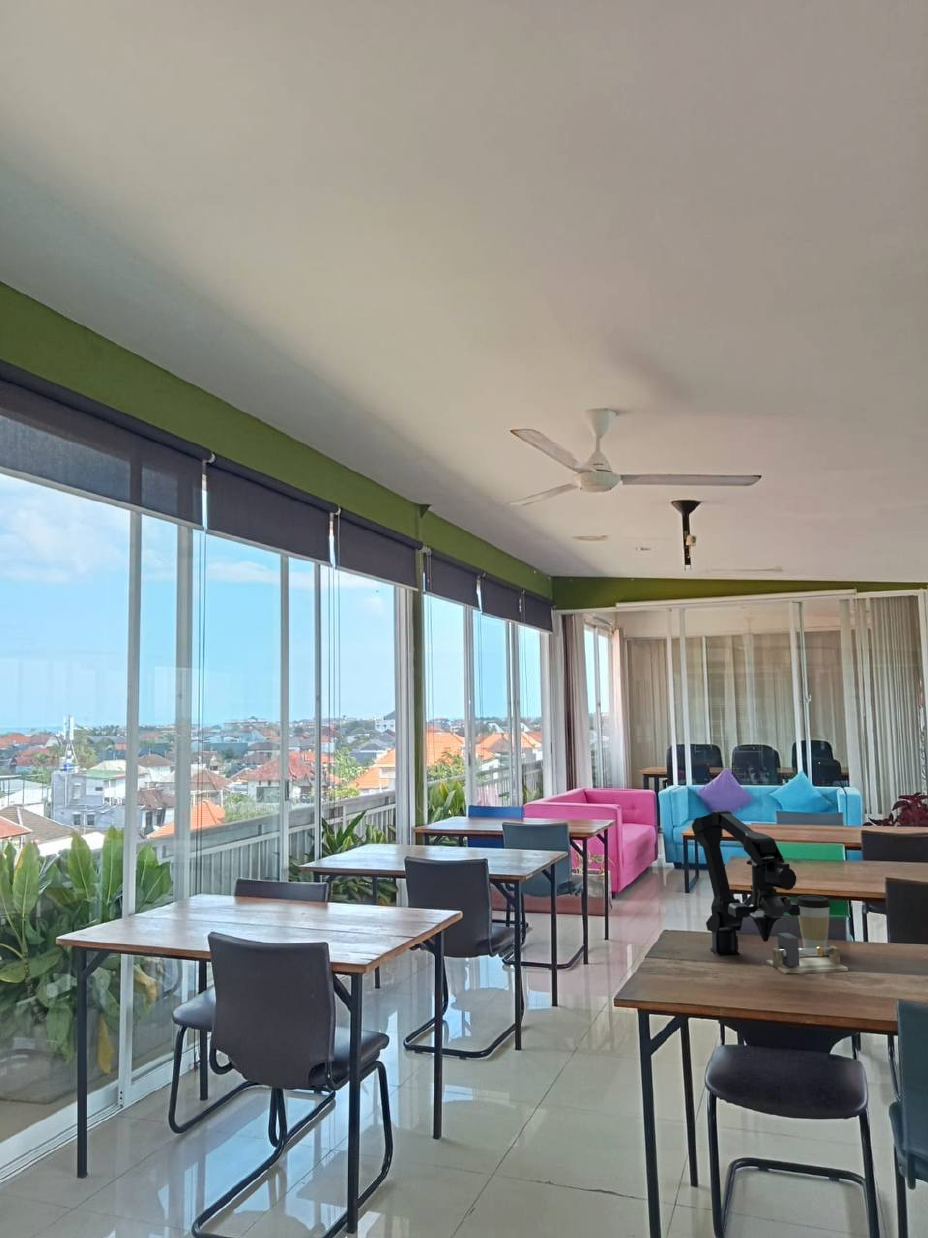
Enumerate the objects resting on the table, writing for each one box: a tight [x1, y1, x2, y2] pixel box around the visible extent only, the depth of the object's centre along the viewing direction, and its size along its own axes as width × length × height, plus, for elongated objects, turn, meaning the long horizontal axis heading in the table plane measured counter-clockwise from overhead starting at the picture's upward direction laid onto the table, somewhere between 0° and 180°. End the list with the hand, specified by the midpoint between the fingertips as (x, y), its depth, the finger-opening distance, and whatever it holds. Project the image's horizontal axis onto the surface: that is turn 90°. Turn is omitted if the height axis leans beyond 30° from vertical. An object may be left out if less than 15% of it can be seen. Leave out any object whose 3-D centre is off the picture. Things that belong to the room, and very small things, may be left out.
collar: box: [777, 932, 800, 967], centre depth 252 cm, size 3×6×7 cm, turn 7°
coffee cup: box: [795, 894, 832, 948], centre depth 270 cm, size 10×10×15 cm
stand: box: [766, 945, 849, 974], centre depth 253 cm, size 18×11×5 cm, turn 97°
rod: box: [773, 946, 834, 957], centre depth 253 cm, size 18×2×2 cm, turn 97°
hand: (765, 941), depth 252 cm, fingers closed
